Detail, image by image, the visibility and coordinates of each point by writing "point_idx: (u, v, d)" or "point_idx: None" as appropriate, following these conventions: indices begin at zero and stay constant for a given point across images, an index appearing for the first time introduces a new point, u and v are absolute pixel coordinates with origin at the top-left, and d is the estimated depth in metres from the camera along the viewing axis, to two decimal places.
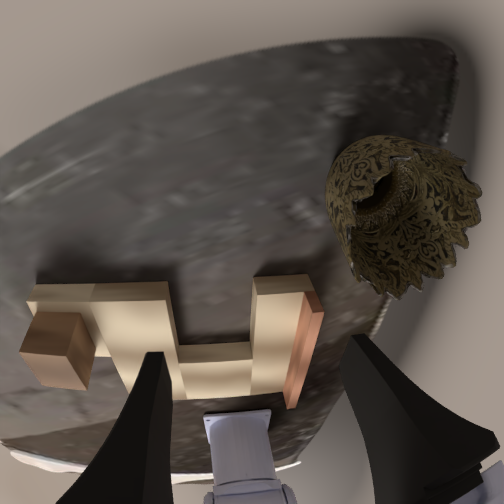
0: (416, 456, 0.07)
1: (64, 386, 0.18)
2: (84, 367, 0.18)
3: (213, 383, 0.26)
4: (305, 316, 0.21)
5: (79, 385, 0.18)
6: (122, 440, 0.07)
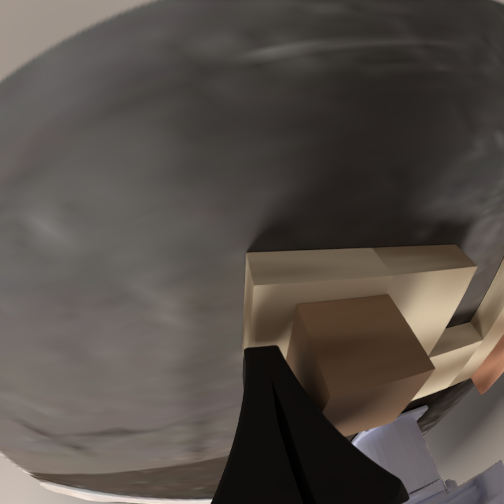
0: (301, 491, 0.06)
1: (357, 431, 0.10)
2: None
3: (432, 379, 0.18)
4: None
5: (391, 417, 0.10)
6: (254, 438, 0.07)
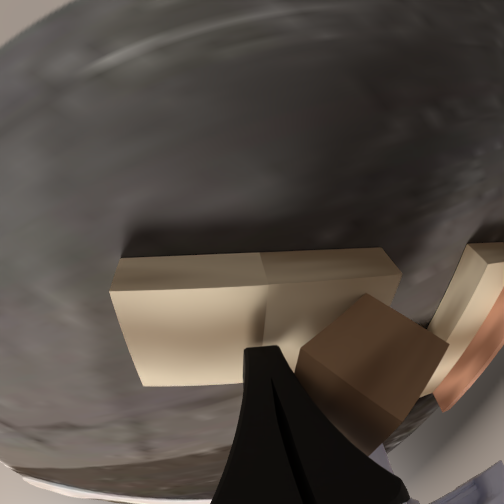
0: (302, 491, 0.06)
1: None
2: None
3: None
4: None
5: None
6: (254, 438, 0.07)
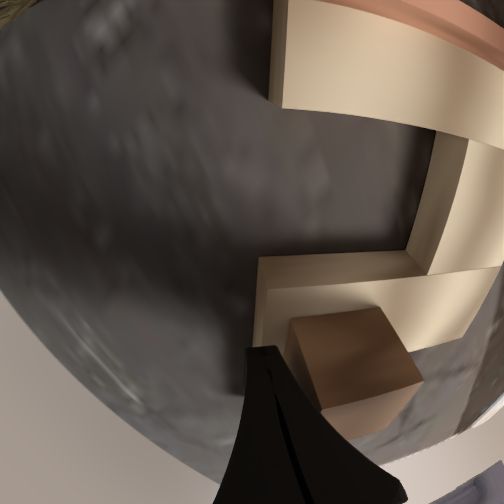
0: None
1: (399, 407, 0.10)
2: (384, 362, 0.10)
3: (493, 222, 0.11)
4: None
5: (405, 391, 0.09)
6: (256, 437, 0.07)
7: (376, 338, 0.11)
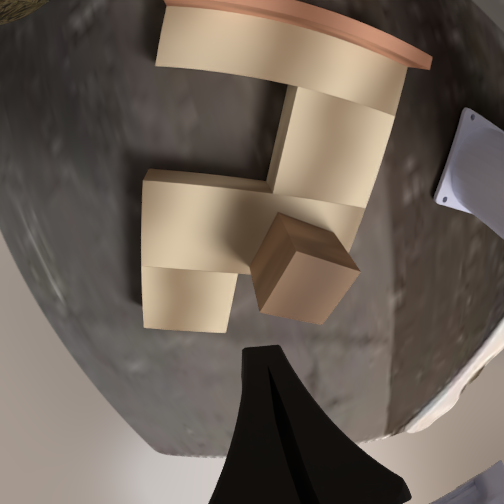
0: (304, 491, 0.06)
1: (338, 296, 0.16)
2: (335, 252, 0.16)
3: (341, 159, 0.16)
4: (192, 3, 0.10)
5: (347, 274, 0.15)
6: (252, 438, 0.07)
7: (330, 242, 0.17)
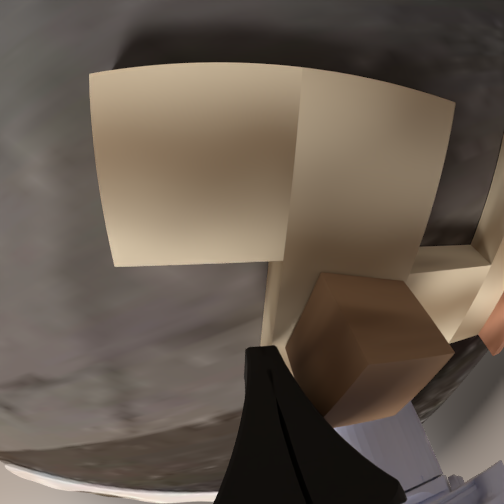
0: None
1: (363, 420, 0.10)
2: None
3: None
4: None
5: (397, 408, 0.10)
6: (256, 437, 0.07)
7: None
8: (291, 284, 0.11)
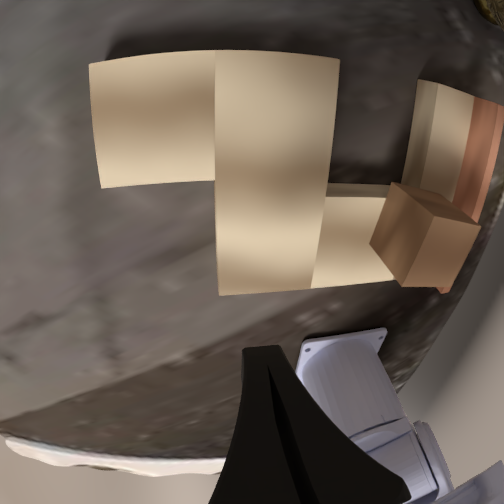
0: (304, 491, 0.06)
1: (432, 283, 0.14)
2: None
3: (358, 250, 0.18)
4: (483, 120, 0.13)
5: (452, 277, 0.15)
6: (252, 438, 0.07)
7: None
8: (224, 200, 0.15)
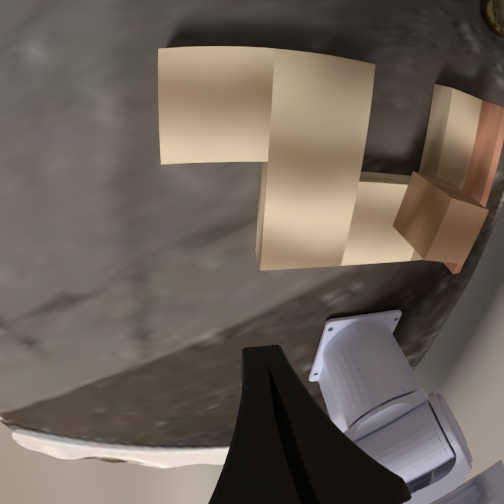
0: (304, 491, 0.06)
1: (448, 258, 0.16)
2: None
3: (383, 231, 0.19)
4: (489, 121, 0.14)
5: (464, 254, 0.16)
6: (252, 438, 0.07)
7: None
8: (274, 180, 0.16)
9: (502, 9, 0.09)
